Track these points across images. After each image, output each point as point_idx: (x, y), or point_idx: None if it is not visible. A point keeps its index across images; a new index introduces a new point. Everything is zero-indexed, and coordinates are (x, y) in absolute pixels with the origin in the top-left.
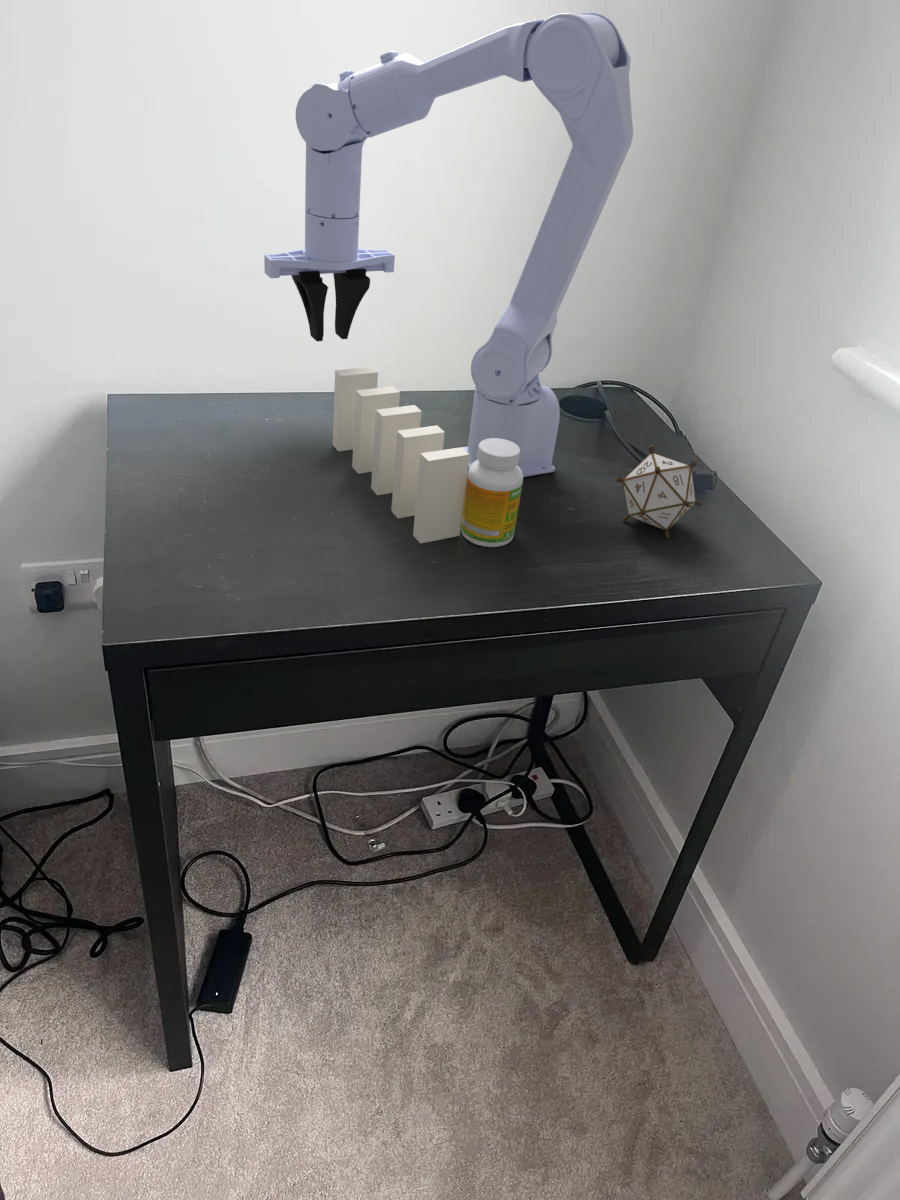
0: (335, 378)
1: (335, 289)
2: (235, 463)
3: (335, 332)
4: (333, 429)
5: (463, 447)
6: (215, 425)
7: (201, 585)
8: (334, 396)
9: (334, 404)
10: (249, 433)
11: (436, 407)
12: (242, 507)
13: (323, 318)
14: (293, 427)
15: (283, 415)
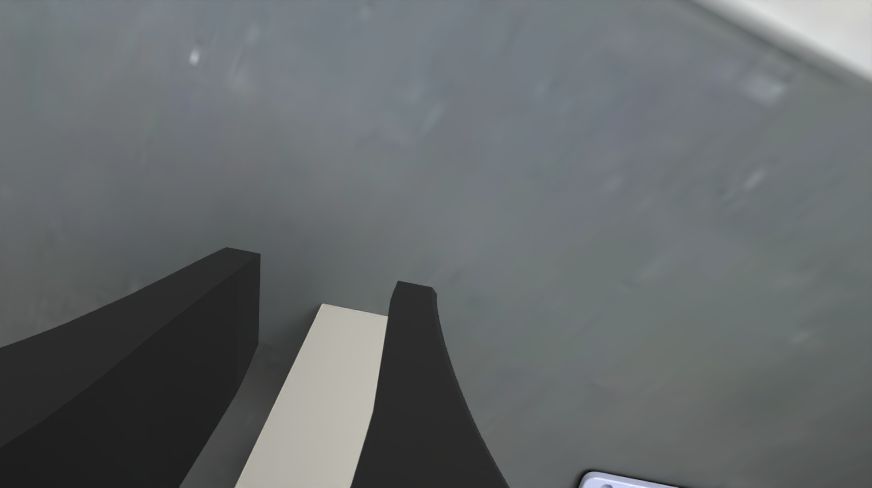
0: (241, 477)
1: (355, 479)
2: (33, 266)
3: (396, 284)
4: (307, 335)
5: (623, 486)
6: (4, 17)
7: None
8: (269, 416)
9: (279, 396)
10: (107, 127)
11: (820, 249)
12: None
13: (180, 483)
14: (260, 154)
15: (263, 53)
